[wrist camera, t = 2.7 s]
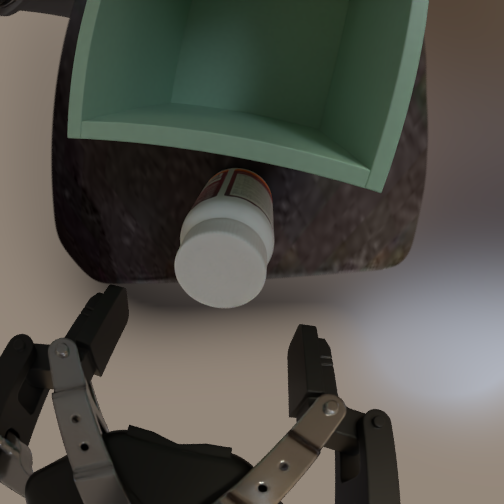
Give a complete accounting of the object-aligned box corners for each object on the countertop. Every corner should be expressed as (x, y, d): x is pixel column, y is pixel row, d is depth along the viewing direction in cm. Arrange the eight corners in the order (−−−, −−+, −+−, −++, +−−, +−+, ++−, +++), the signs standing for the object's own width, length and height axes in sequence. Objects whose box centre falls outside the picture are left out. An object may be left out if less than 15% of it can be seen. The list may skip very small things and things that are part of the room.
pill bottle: (207, 230, 27) (175, 314, 17) (200, 167, 24) (154, 225, 14) (273, 230, 27) (274, 316, 17) (272, 165, 23) (275, 222, 14)
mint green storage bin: (323, 139, 22) (381, 194, 11) (163, 110, 21) (66, 138, 10) (360, -17, 14) (432, -82, 3) (199, -45, 13) (146, -124, 2)
